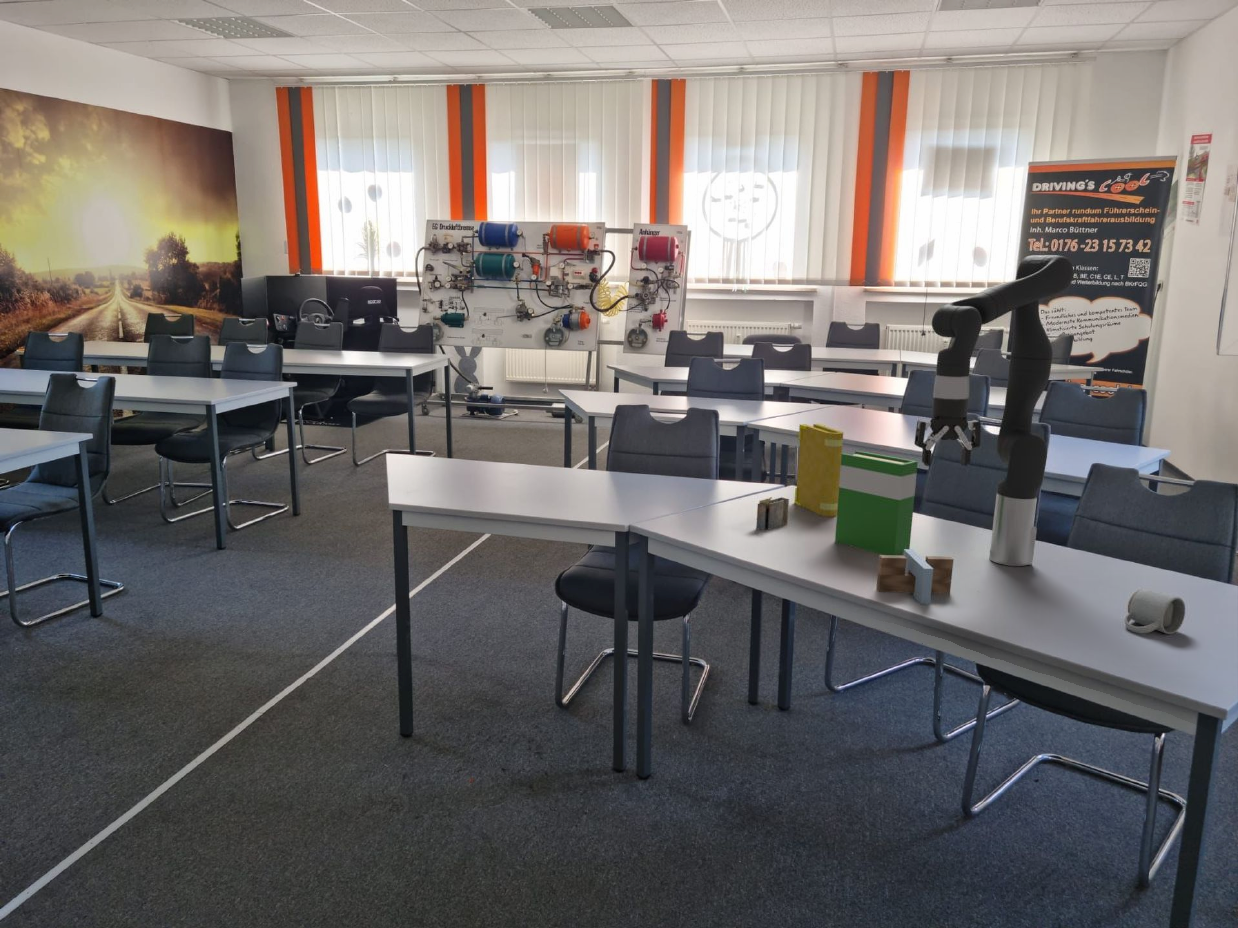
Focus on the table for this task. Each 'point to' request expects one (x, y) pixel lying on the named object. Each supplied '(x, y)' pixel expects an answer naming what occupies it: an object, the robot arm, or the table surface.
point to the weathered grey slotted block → (772, 513)
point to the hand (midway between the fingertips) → (945, 465)
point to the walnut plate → (899, 581)
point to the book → (819, 469)
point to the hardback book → (876, 502)
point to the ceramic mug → (1155, 612)
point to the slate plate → (919, 575)
